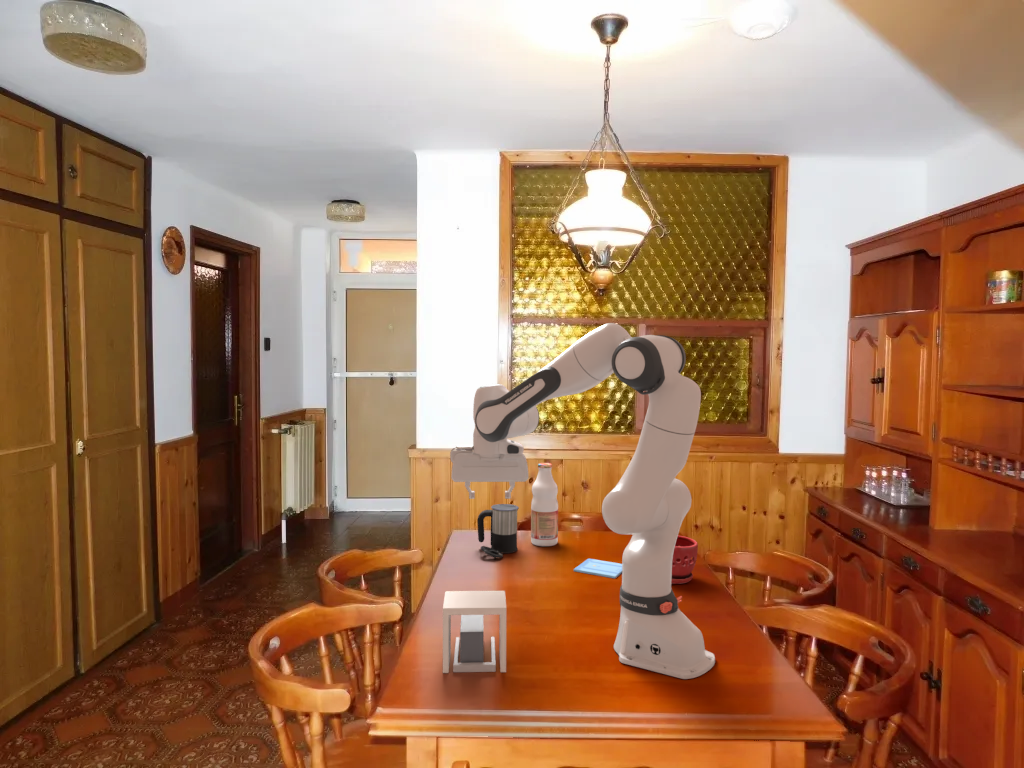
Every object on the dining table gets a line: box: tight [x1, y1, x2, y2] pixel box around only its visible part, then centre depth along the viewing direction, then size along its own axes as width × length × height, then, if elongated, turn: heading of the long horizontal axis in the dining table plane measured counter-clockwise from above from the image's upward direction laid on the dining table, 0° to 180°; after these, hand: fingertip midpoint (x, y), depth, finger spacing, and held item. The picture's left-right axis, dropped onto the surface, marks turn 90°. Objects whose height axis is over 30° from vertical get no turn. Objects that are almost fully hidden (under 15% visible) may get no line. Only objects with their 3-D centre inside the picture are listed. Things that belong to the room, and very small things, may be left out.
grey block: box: [459, 615, 485, 663], centre depth 153 cm, size 13×5×8 cm, turn 3°
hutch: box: [442, 590, 507, 674], centre depth 153 cm, size 16×13×14 cm
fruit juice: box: [530, 462, 559, 547], centre depth 240 cm, size 9×9×28 cm
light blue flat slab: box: [573, 558, 622, 579], centre depth 213 cm, size 14×12×1 cm
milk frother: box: [476, 503, 519, 559], centre depth 228 cm, size 14×16×15 cm
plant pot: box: [671, 535, 699, 585], centre depth 204 cm, size 13×13×12 cm
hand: (489, 498), depth 180 cm, fingers open, 8 cm apart
